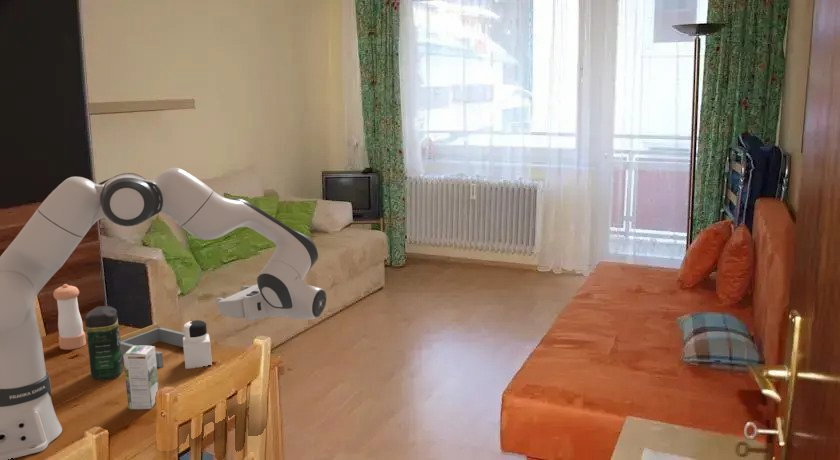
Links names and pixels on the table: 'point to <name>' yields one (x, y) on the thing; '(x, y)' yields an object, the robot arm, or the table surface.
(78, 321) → the salt shaker
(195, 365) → the medicine bottle
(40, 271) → the robot arm
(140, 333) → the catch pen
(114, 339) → the coffee jar
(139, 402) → the syrup box
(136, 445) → the table surface
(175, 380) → the table surface
